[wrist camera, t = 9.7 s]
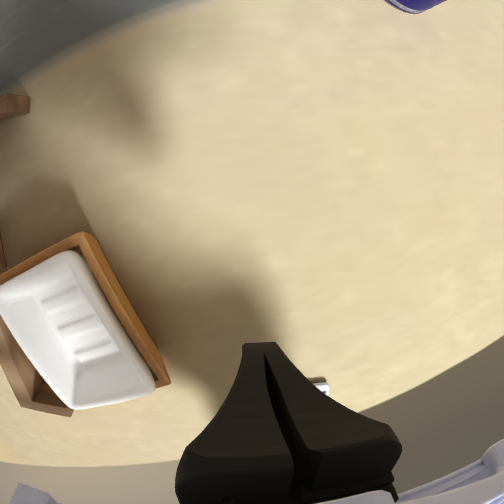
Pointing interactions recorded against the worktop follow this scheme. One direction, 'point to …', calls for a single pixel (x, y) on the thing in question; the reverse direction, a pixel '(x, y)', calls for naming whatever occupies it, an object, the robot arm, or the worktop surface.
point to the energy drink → (414, 5)
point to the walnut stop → (3, 342)
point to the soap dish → (80, 326)
